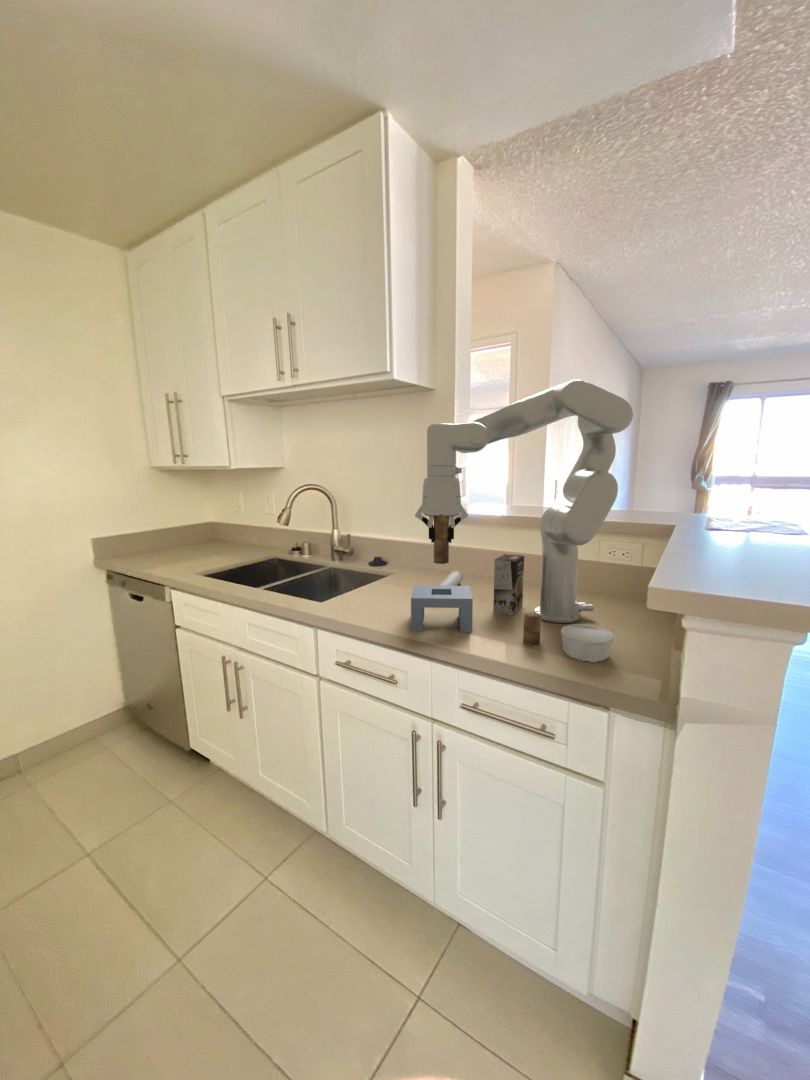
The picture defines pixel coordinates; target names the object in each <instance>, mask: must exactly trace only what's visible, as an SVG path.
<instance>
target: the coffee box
mask: <svg viewBox="0 0 810 1080" xmlns="http://www.w3.org/2000/svg"><path fill="white" fill-rule="evenodd" d="M524 567H525V555H523V554H522V555H521V554H519V555H518V554H505V553H504V554H502V555H500V556H499V557H497V558H495V559H494V568H493V569H494V570H493V573H494V574H493V575H494V577H493V579H494V580H493V604H492V605H493V609H492V610H493V613H499V614H504V615H508V616H514V615H515V614H516V613H517V612H518V611H519V610H520V609H522V608H523V605H524V604H523V601H524V599H523V598H524V575H525V574H524V570H525V568H524Z"/></svg>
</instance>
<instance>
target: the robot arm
mask: <svg viewBox="0 0 810 1080" xmlns="http://www.w3.org/2000/svg"><path fill="white" fill-rule="evenodd" d="M569 417H577V426H578V430H579V432H580V435H581V438H582V443H583V444H582V449H581V453H580V455H579V456H578V458H577V460H576V462H575V464H574V466H573V468H572V469H571V471H570V473H569V475H568V476H567V478H566V480H565V483H564V485H563V488H562V494H563V497H564V498H565V499H566V500H567V501H568V502H570V503H572V505H571V506H568V505H564V504H556V505H552V506H550V507H548V508H547V509H546V510H545V511H544V512H543V514H542V516H541V518H540V526H539V527H540V529H539V530H540V536H541V553H542V554H541V575H540V599H539V602H540V603H539V606H537V607H535V608H534V610H533V612H534V613H538V614H540V615H541V621H542V620H543V621H546V622H551V623H557V624H558V623H559V624H563V623H564V624H569V623H575V622H578V621H579V620H581V618H582V614H581V613H582V611H583V612H594V610H595V609H594V604H587V603H586V602H578V601H577V587H578V586H577V583H578V567H579V548H578V546H585V545H586V544H588V543H590V542H591V541H592V540H593V539H594V538H595V537H596V535H597V533H598V532H599V530H600V529H601V527H602V525H603V524H604V522H605V520H606V519H607V516H608V515H609V513H610V512H611V510H612V508H613V506H614V503H615V502H616V500H617V497H618V493H619V486H618V481H617V480H616V478H615V476H614V475H613V474H612V473H610V472H609V471H610V469H611V467H612V465H613V463H614V460H615V458H616V457H615V456H616V454H617V453H616V452H617V451H616V450H617V449H616V441H615V438H614V435H613V434H618V433H622V432H623V431H625V430H626V429H627V428H628V427H629V426H630V424H631V423H632V422H633V421H632V420H633V417H634V413H633V408H632V405H631V404H630V403H629V402H628V401H627V400H626V399H625V398H624V397H621V396H619V395H617V394H614V393H613V392H610V391H608V390H606V389H603V388H602V387H601V386H598V385H595V384H593V383H590V382H588V381H585V380H581V379H572V380H570V381H567V382H563V383H562V384H558V385H556V386H553V387H550V388H548V389H545V390H544V391H540V392H538V393H535V394H533V395H531V396H527V397H525V398H523V399H521V400H518V401H514V402H513V403H511V404H507V405H506V406H504V407H502V408H499V409H498V410H496V411H494V412H492V413H489V414H486V415H484V416H482V417H480V418H477V419H474V420H472V421H469V422H465V423H441V422H440V423H439V422H438V423H432V424H429V425H428V427H427V429H426V469H427V470H426V477H425V478H423V484H422V494H421V495H422V496H421V497H422V499H421V501H422V502H421V505H420V507H419V508H418V509H417V511H416V512H415V515H414V516H415V517H416V518H417V519H418V520H420V521H421V522H423V524H424V525H425V526H427V527H428V540H431V544H434V516H438V515H441V514H442V515H444V516H449V544H451V543H452V540H454V539H455V528H456V526H457V525H458V524H459V523H460V522H461V521H463V520H464V519H466V518H468V516H469V514H468V513H467V511H466V509H465V508H464V507H463V505H462V500H461V497H462V496H461V484H460V478H459V477H457V475H458V474H462V467H458V466H457V452H459V453H461V454H471V453H477V452H480V451H482V450H483V449H485V448H486V446H487V445H490V444H492V443H494V442H498V441H501V440H505V439H509V438H515V437H519V436H522V435H526V434H529V433H530V432H533V431H536V430H538V429H540V428H543V427H546V426H548V425H551V424H553V423H555V422H558V421H560V420H563V419H566V418H569ZM427 517H428V518H427ZM455 517H456V518H455Z"/></svg>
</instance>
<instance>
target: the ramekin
mask: <svg viewBox="0 0 810 1080" xmlns="http://www.w3.org/2000/svg"><path fill="white" fill-rule="evenodd" d="M560 635H561V639H562V649H563V651H564V652H565V654H566V655H567V656H568V655H569V656H568V657H570V658H572V659H574V658H575V659H574V660H576V659H578V660H577V661H580V660H583V661H582V662H584V661H601V662H603V661H602V660H604V661H606V659H608V657H609V656H610V653H611V649H612V645H613V643H614V642H615V640H614V639H615V635H614V634H613V633H612V632H611V631H609V630H608V629H605V628H603V627H599V626H596V625H590V624H583V623H582V624H581V623H580V624H579V623H572V624H568V625H565V626H563V627H562V628H561V630H560Z"/></svg>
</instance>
